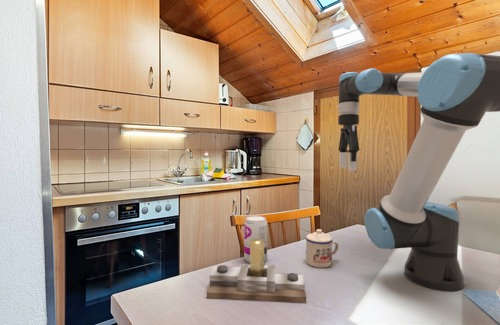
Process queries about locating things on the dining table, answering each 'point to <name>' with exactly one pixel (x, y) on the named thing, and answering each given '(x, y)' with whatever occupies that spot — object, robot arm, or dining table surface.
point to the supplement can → (254, 234)
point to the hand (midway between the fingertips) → (347, 169)
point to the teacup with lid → (319, 249)
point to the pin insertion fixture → (255, 285)
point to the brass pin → (256, 258)
